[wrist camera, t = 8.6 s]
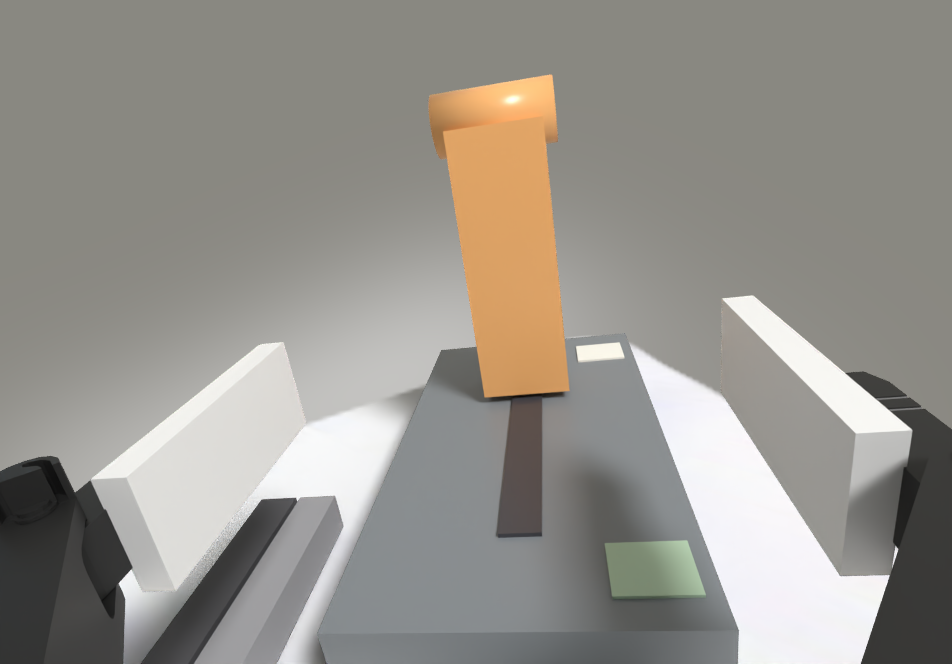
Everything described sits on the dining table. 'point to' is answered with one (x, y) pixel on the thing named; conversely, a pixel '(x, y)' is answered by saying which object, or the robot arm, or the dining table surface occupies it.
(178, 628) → the grooved grey bar
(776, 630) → the dining table surface
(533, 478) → the base
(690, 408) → the dining table surface
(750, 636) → the dining table surface
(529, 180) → the handle
